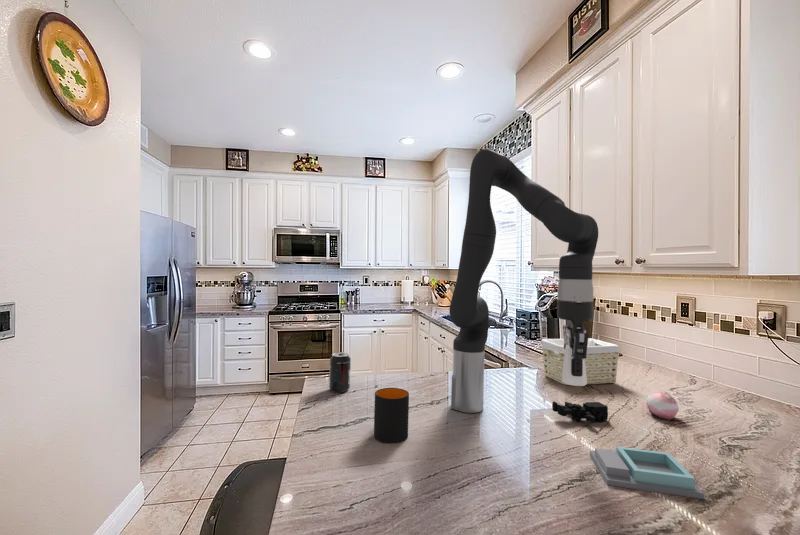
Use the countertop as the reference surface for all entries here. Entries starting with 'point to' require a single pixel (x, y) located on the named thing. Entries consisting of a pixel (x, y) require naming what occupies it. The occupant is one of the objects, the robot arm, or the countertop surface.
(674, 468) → the grey and blue tray
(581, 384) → the salt shaker
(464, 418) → the countertop surface
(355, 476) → the countertop surface
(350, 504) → the countertop surface
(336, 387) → the beverage can
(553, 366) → the storage basket
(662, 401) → the onion
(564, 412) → the toy
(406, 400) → the mug
